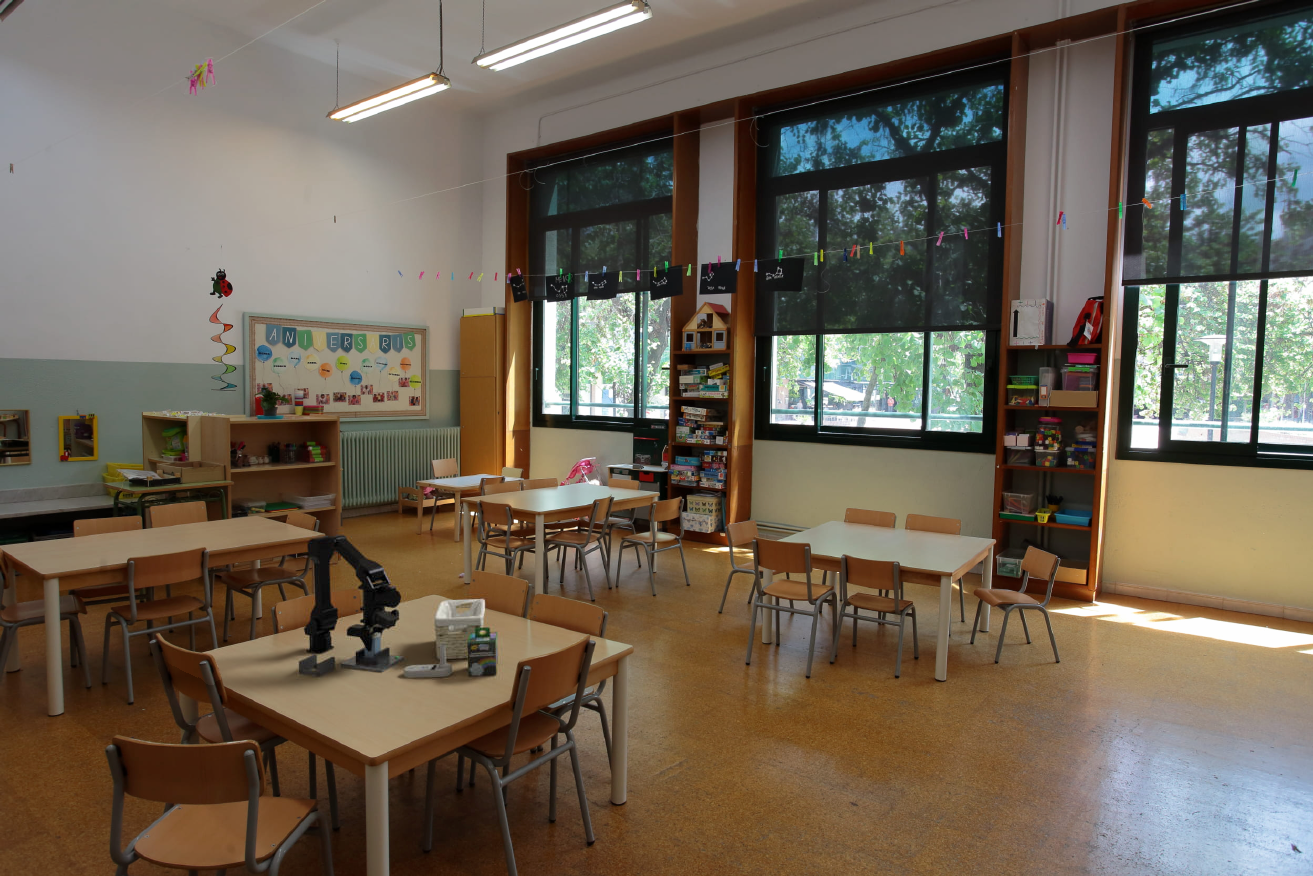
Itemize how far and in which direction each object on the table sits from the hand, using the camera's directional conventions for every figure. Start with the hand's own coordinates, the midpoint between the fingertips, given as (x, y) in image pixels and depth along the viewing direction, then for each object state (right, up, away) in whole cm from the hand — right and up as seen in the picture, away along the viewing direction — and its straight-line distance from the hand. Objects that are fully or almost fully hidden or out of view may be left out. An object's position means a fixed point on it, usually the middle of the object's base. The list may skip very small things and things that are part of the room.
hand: (372, 649), depth 256 cm
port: (0, -5, 0) cm, 4 cm away
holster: (-15, -5, -8) cm, 18 cm away
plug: (0, -3, 0) cm, 2 cm away
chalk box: (+38, -6, -6) cm, 39 cm away
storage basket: (+25, -4, +15) cm, 30 cm away
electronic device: (+21, -6, -9) cm, 24 cm away
